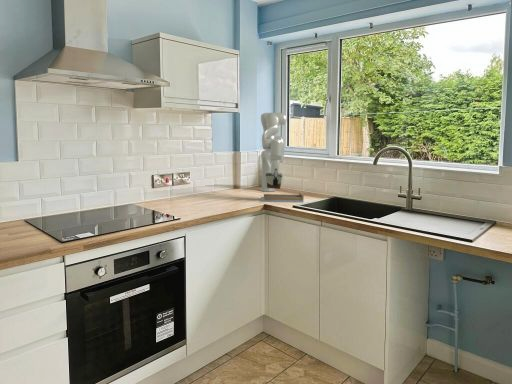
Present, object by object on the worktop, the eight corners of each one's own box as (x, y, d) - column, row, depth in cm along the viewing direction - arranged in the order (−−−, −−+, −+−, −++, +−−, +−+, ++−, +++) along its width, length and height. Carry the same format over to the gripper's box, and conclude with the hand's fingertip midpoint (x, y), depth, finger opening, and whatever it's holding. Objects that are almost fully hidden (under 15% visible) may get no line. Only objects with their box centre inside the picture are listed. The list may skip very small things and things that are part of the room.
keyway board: (261, 198, 288) (261, 191, 288) (301, 199, 289) (301, 191, 288) (261, 201, 277) (261, 193, 276) (303, 202, 277) (303, 194, 276)
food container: (285, 188, 283) (285, 173, 281) (282, 189, 277) (282, 174, 275) (268, 186, 287) (268, 172, 286) (264, 187, 282) (265, 173, 280)
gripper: (269, 157, 287) (268, 183, 289) (270, 159, 270) (270, 186, 272) (280, 157, 287) (279, 183, 289) (282, 159, 270) (281, 186, 272)
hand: (275, 184), depth 281 cm, fingers closed on food container, 6 cm apart
